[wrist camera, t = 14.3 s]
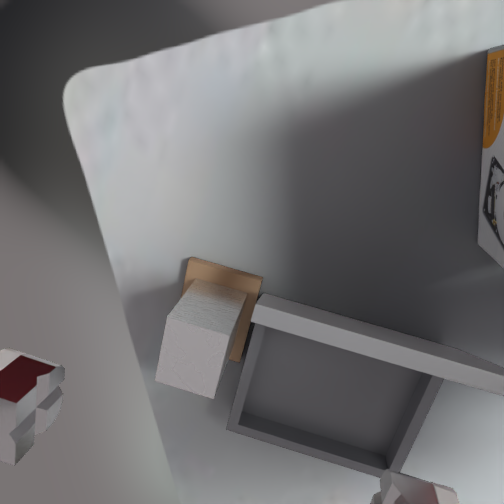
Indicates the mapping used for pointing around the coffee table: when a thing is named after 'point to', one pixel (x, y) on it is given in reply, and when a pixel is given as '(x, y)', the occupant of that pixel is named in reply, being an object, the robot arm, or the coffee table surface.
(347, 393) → the case
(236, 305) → the block
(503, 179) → the hard drive box
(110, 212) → the coffee table surface
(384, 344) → the lid
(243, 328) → the board
